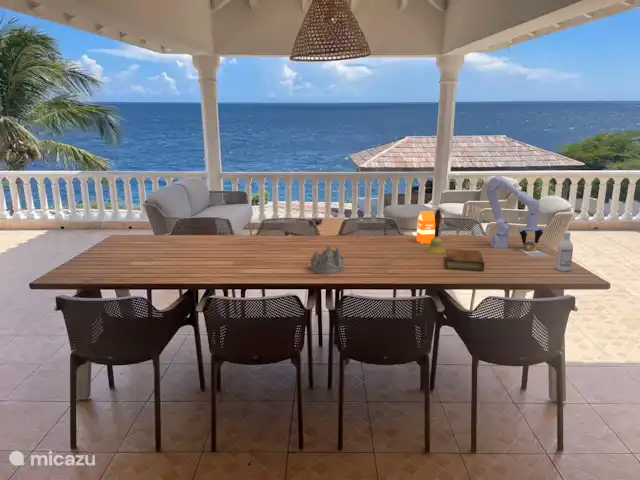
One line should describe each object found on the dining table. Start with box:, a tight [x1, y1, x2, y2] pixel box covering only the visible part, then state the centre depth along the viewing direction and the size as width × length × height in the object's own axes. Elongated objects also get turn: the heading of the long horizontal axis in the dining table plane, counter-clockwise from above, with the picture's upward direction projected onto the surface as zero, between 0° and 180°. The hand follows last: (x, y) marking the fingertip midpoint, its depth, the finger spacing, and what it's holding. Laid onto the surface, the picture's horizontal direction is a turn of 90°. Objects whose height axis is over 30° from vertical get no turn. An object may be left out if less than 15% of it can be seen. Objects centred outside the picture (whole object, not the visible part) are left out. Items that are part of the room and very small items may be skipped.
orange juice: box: [416, 210, 435, 245], centre depth 319 cm, size 8×9×20 cm
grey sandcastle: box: [309, 244, 346, 275], centre depth 262 cm, size 16×16×15 cm
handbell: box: [425, 209, 446, 255], centre depth 296 cm, size 12×12×25 cm
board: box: [518, 248, 549, 257], centre depth 293 cm, size 10×17×1 cm, turn 7°
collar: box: [521, 242, 538, 252], centre depth 298 cm, size 6×6×4 cm
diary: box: [445, 248, 485, 272], centre depth 273 cm, size 23×19×6 cm
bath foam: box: [555, 231, 574, 272], centre depth 262 cm, size 7×7×20 cm
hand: (530, 243), depth 297 cm, fingers open, 7 cm apart
